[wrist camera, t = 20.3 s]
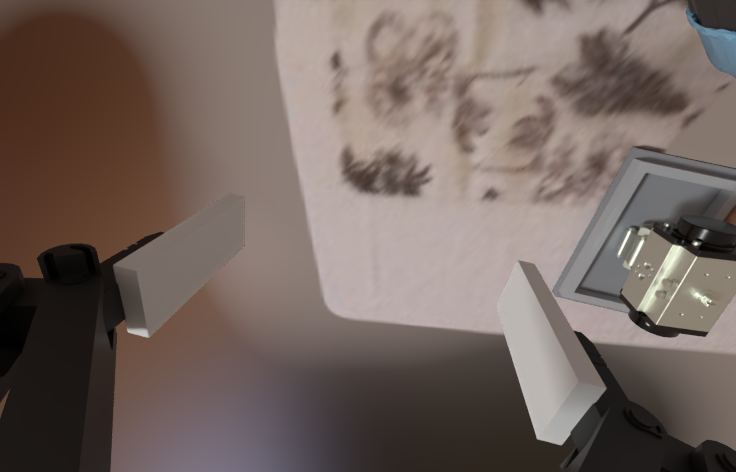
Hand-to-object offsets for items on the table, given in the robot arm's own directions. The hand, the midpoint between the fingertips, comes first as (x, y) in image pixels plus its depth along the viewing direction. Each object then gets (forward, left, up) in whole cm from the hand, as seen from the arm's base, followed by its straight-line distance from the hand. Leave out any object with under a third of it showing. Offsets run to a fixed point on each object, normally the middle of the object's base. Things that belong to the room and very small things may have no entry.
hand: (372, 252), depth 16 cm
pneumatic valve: (+5, +29, -26) cm, 39 cm away
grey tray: (+5, +33, -27) cm, 42 cm away
